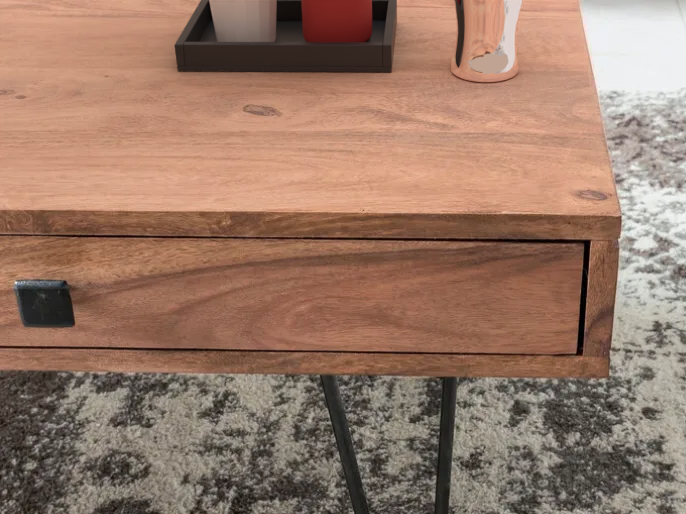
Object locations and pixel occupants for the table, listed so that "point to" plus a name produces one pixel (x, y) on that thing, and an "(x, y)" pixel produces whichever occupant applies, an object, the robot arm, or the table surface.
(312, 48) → the tray
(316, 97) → the table surface
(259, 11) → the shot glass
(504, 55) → the beer glass
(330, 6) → the beer can
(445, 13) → the table surface
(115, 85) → the table surface
